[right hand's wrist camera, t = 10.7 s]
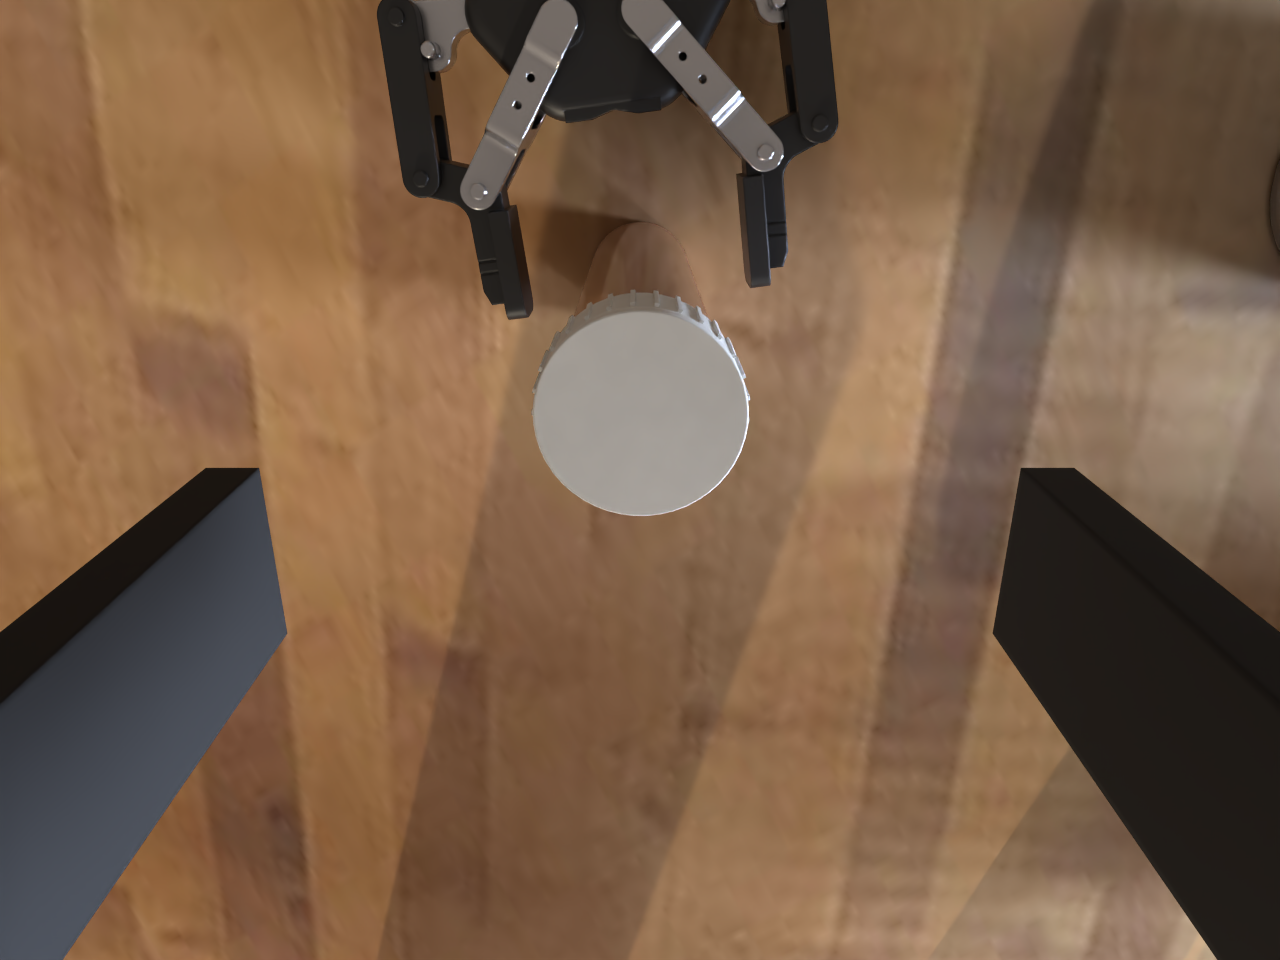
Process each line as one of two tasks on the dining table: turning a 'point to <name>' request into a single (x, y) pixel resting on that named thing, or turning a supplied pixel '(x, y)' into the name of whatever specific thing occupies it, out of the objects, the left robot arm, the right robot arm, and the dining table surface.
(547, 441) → the lid
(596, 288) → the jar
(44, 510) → the dining table surface
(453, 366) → the dining table surface
